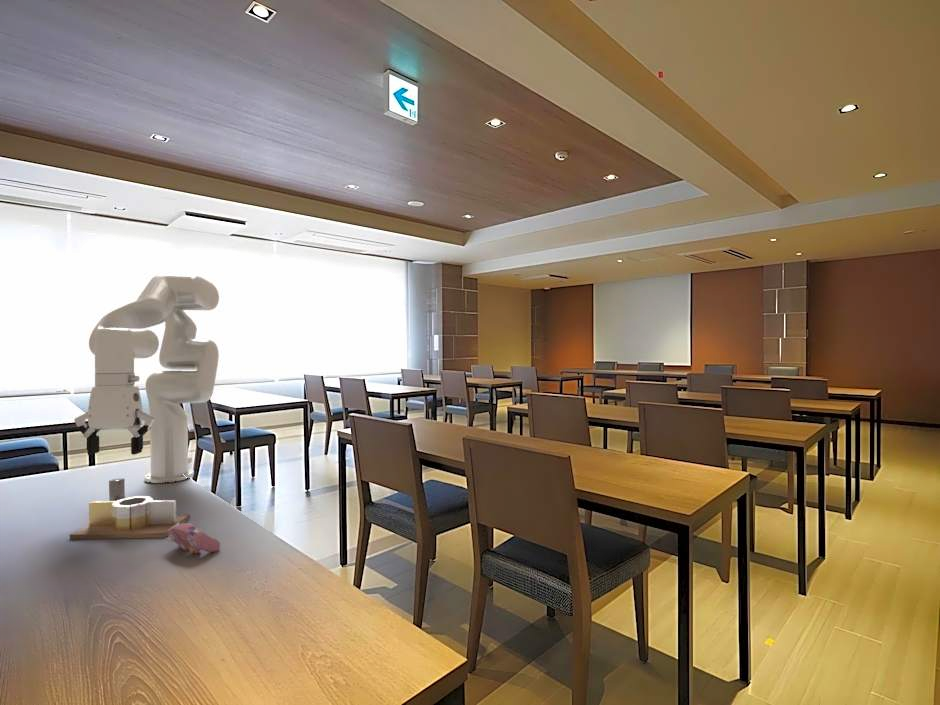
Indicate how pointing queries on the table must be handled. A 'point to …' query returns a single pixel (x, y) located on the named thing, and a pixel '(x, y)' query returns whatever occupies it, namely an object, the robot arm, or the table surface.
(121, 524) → the hinge
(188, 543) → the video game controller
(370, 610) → the table surface
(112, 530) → the mounting board
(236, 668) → the table surface
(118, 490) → the hinge pin
